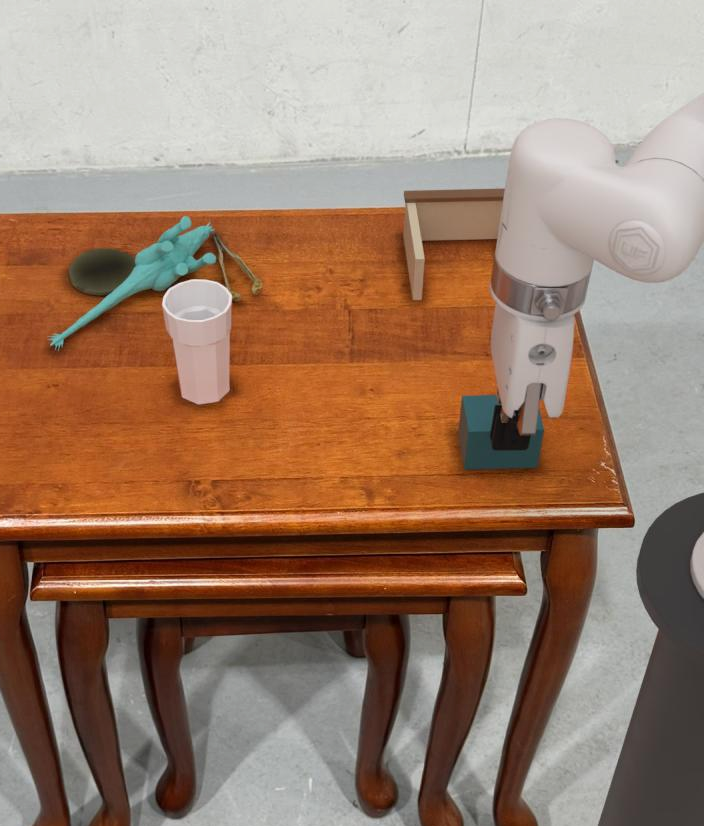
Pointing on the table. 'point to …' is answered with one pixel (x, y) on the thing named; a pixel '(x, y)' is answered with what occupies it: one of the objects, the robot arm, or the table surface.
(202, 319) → the cup
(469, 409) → the box
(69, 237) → the table surface
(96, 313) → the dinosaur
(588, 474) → the table surface
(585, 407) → the table surface
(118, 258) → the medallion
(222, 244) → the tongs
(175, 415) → the table surface
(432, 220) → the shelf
